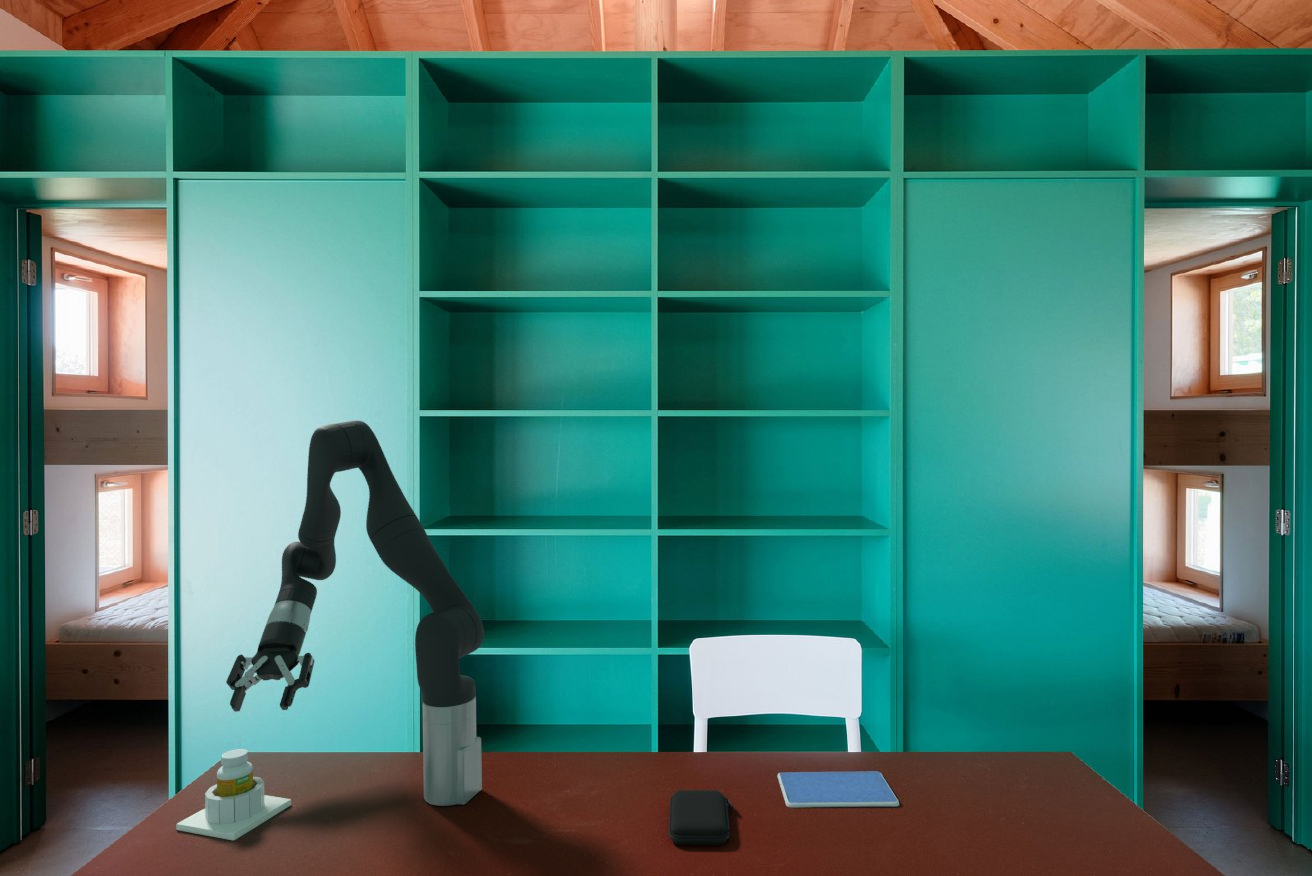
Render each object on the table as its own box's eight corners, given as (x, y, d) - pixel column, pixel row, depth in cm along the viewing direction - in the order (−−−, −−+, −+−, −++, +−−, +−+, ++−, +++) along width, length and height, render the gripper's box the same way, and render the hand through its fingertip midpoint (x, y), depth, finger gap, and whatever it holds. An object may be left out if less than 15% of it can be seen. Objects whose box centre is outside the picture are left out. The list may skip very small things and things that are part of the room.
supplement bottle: (237, 819, 124) (236, 761, 124) (209, 817, 126) (208, 759, 125) (260, 804, 130) (259, 748, 130) (233, 801, 131) (232, 745, 131)
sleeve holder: (291, 805, 131) (290, 776, 131) (233, 840, 120) (233, 809, 120) (237, 796, 135) (236, 768, 135) (176, 829, 123) (176, 799, 123)
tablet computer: (786, 811, 128) (786, 803, 128) (776, 777, 141) (776, 770, 141) (900, 810, 128) (900, 802, 128) (880, 776, 140) (880, 769, 140)
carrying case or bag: (737, 850, 116) (732, 803, 130) (737, 830, 116) (731, 786, 130) (668, 850, 116) (670, 803, 131) (668, 830, 116) (670, 786, 131)
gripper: (241, 620, 145) (210, 701, 133) (317, 618, 145) (292, 698, 134) (255, 640, 150) (226, 719, 139) (328, 638, 151) (305, 716, 139)
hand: (259, 709), depth 136 cm, fingers open, 8 cm apart
